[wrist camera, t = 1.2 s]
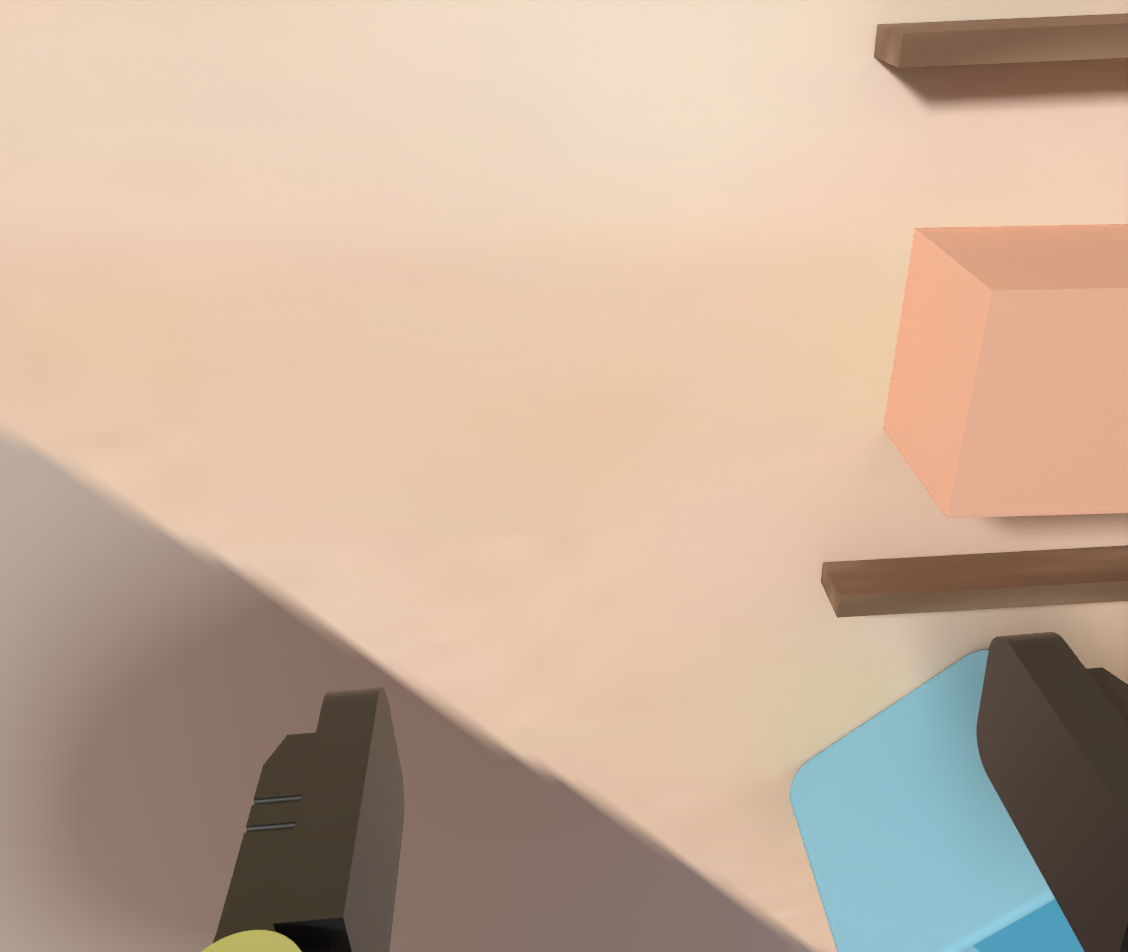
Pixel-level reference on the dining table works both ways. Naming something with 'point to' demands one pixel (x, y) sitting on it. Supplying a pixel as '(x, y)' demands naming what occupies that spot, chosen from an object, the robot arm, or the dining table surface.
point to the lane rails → (1011, 572)
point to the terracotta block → (1015, 369)
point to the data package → (922, 834)
